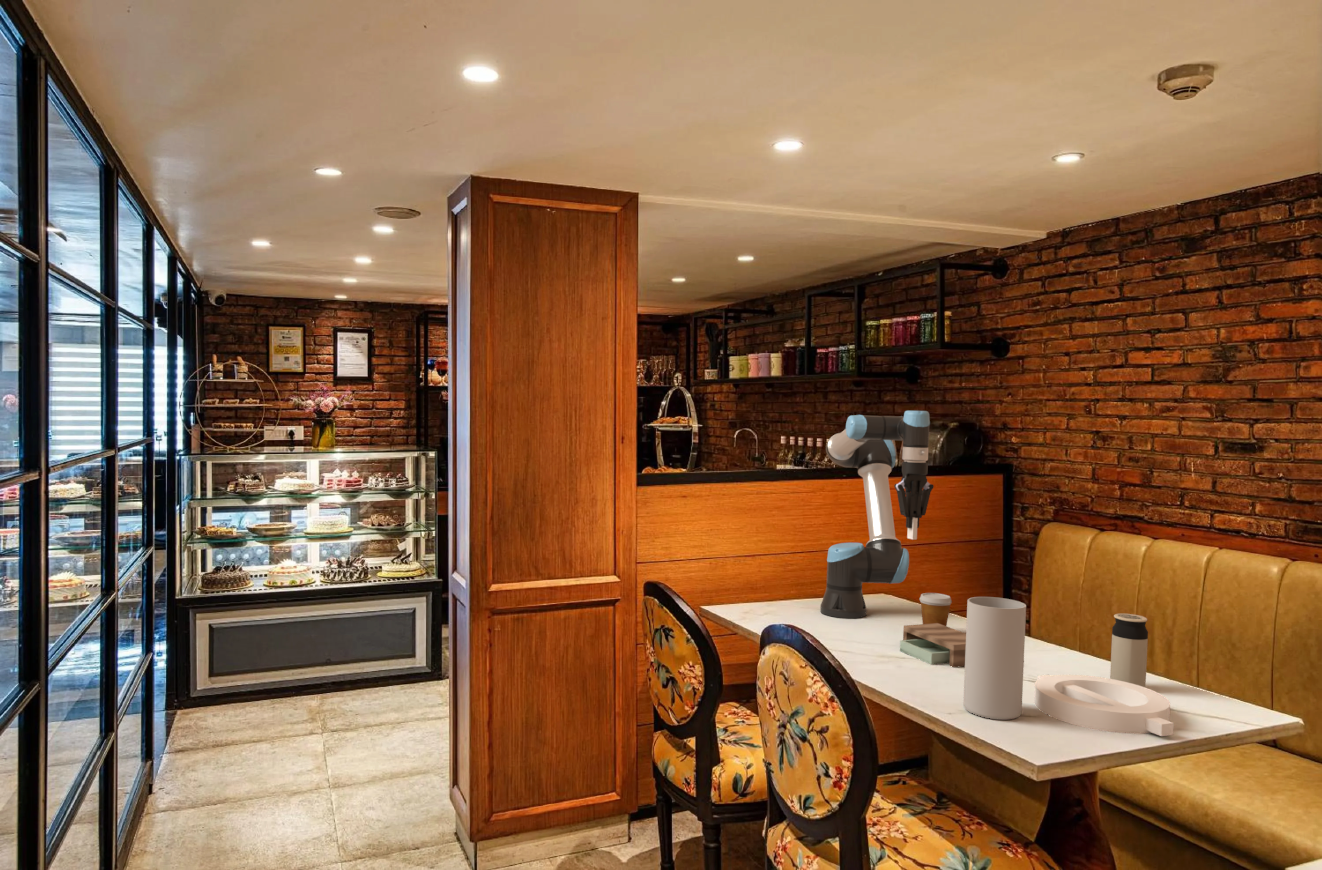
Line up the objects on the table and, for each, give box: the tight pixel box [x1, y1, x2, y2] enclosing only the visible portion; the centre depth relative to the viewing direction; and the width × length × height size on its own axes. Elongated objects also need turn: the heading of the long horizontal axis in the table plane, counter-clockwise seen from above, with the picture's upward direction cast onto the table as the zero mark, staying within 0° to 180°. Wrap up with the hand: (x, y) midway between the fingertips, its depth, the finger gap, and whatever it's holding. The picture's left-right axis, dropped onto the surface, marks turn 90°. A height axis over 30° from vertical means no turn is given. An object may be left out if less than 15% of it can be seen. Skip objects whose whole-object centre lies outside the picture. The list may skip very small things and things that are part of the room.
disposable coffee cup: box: [918, 592, 953, 627], centre depth 277 cm, size 10×10×12 cm
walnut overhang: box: [902, 623, 966, 668], centre depth 254 cm, size 22×12×6 cm, turn 21°
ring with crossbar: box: [1033, 674, 1174, 737], centre depth 209 cm, size 28×28×5 cm
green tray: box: [899, 639, 950, 665], centre depth 253 cm, size 14×12×3 cm
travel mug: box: [1109, 613, 1149, 688], centre depth 228 cm, size 8×8×18 cm
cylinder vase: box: [962, 596, 1027, 721], centre depth 206 cm, size 12×12×25 cm
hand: (912, 538), depth 275 cm, fingers closed
